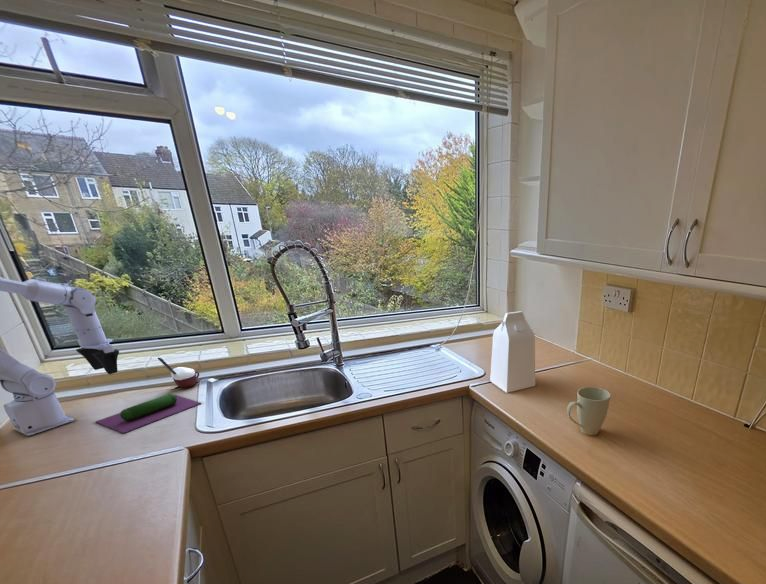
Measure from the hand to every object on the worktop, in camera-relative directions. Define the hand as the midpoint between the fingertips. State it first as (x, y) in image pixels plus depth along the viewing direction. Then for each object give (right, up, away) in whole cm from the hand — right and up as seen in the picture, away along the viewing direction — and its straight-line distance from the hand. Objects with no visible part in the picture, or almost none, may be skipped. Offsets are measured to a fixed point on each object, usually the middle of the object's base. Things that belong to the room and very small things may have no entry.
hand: (106, 370), depth 125 cm
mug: (+147, -18, -9) cm, 148 cm away
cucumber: (+18, -12, -4) cm, 22 cm away
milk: (+126, -4, +21) cm, 127 cm away
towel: (+18, -13, -4) cm, 22 cm away
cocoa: (+14, -5, +13) cm, 20 cm away
